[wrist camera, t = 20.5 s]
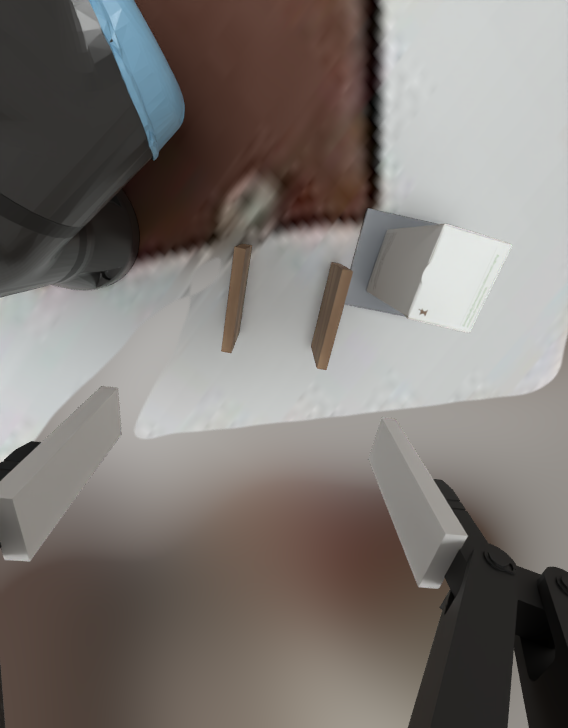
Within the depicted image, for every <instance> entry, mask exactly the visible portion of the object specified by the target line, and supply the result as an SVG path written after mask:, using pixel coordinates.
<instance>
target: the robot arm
mask: <svg viewBox="0 0 568 728" xmlns="http://www.w3.org/2000/svg"><path fill="white" fill-rule="evenodd" d="M184 112H185V105H184V100H183V96H182V93H181V90H180V87H179V85H178V83H177V81H176V78H175V76H174V74H173V72H172V70H171V68H170V66H169V64H168V62H167V60H166V59H165V57H164V55H163V53H162V51H161V49H160V47H159V45H158V43H157V41H156V40H155V38H154V36H153V34H152V32H151V30H150V28H149V27H148V25H147V23H146V21H145V19H144V18H143V16H142V14H141V12H140V10H139V9H138V7H137V5H136V3H135V1H134V0H0V297H4V296H8V295H12V294H16V293H20V292H24V291H28V290H32V289H36V288H40V287H44V286H48V285H54V286H58V287H63V288H67V289H72V290H94V289H98V288H102V287H105V286H108V285H111V284H113V283H115V282H117V281H118V280H120V279H121V278H122V277H124V276H125V275H126V274H127V273H128V271H129V270H130V269H131V267H132V265H133V264H134V262H135V259H136V257H137V253H138V248H139V228H138V223H137V219H136V215H135V212H134V210H133V207H132V205H131V203H130V201H129V199H128V198H127V196H126V195H125V193H124V192H123V190H122V188H123V187H124V186H125V185H126V184H127V183H128V182H129V181H130V180H131V179H132V178H133V177H134V176H135V175H136V174H137V173H138V172H139V171H140V170H141V169H142V168H143V167H144V165H145V164H146V163H147V162H148V161H149V160H150V159H152V160H153V161H154V160H156V159H157V157H158V155H159V150H160V149H161V148H162V147H163V146H164V145H165V144H166V143H167V141H168V140H169V139H170V138H171V137H172V136H173V135H174V134H175V132H176V131H177V130H178V129H179V128H180V126H181V124H182V122H183V119H184ZM118 395H119V394H118V388H113V387H105V386H101V387H100V388H99V389H98V390H97V391H96V392H95V393H94V394H93V395H91V396H90V397H89V398H88V399H87V400H86V401H85V402H84V403H83V404H82V405H81V406H80V407H79V408H78V409H77V410H76V411H74V412H73V413H72V414H71V415H70V416H69V417H68V418H67V419H66V420H65V421H64V422H63V423H62V424H61V425H60V426H59V427H57V428H56V429H55V430H54V431H53V432H52V433H51V434H50V435H49V436H48V437H47V438H46V439H45V440H44V441H43V442H33V441H31V442H29V443H27V444H25V445H23V446H22V447H20V448H18V449H16V450H15V451H13V452H12V453H11V454H10V455H9V456H8V457H7V458H5V459H4V462H1V463H0V548H1V550H2V553H3V556H4V559H5V560H16V561H31V559H32V558H33V556H34V555H35V554H36V552H37V551H38V549H39V548H40V547H41V545H42V544H43V542H44V541H45V540H46V538H47V537H48V536H49V534H50V533H51V531H52V530H53V529H54V527H55V526H56V525H57V523H58V522H59V520H60V519H61V518H62V516H63V515H64V514H65V512H66V511H67V509H68V508H69V507H70V505H71V504H72V502H73V501H74V500H75V498H76V497H77V496H78V494H79V493H80V492H81V490H82V489H83V487H84V486H85V485H86V483H87V482H88V480H89V479H90V478H91V476H92V475H93V474H94V472H95V471H96V469H97V468H98V467H99V465H100V464H101V462H102V461H103V460H104V458H105V457H106V456H107V454H108V453H109V451H110V450H111V449H112V447H113V446H114V445H115V443H116V442H117V440H118V439H119V437H120V436H121V435H122V432H121V420H120V407H119V396H118ZM368 460H369V462H370V465H371V468H372V470H373V473H374V475H375V478H376V480H377V483H378V486H379V488H380V491H381V493H382V496H383V498H384V501H385V503H386V506H387V508H388V511H389V513H390V516H391V519H392V521H393V523H394V526H395V529H396V531H397V534H398V536H399V539H400V542H401V544H402V547H403V549H404V551H405V554H406V557H407V559H408V562H409V564H410V567H411V569H412V572H413V575H414V577H415V580H416V582H417V585H418V587H425V588H439V587H440V585H441V584H442V582H443V580H444V578H445V579H446V581H447V583H448V585H449V587H450V591H449V592H448V594H447V596H446V597H445V599H444V601H443V603H442V604H441V606H440V608H441V609H442V614H441V617H440V621H439V624H438V627H437V631H436V634H435V637H434V641H433V644H432V648H431V651H430V655H429V658H428V661H427V665H426V668H425V671H424V675H423V678H422V682H421V685H420V689H419V692H418V696H417V699H416V702H415V705H414V709H413V712H412V715H411V719H410V722H409V726H408V728H507V727H508V714H509V701H510V689H511V676H512V664H513V651H515V656H516V661H517V667H518V672H519V677H520V683H521V687H522V693H523V699H524V704H525V709H526V714H527V720H528V725H529V728H568V572H566V571H565V570H563V569H560V568H557V567H547V568H546V569H545V571H544V572H543V573H542V575H541V574H538V573H535V572H532V571H530V570H527V569H524V568H521V567H519V566H516V564H515V562H514V561H513V560H512V559H511V558H510V557H509V556H508V555H507V553H505V552H504V551H502V550H501V549H500V548H498V547H496V546H494V545H491V544H488V542H487V541H486V539H485V538H484V536H483V535H482V533H481V532H480V530H479V529H478V527H477V526H476V524H475V523H474V521H473V520H472V518H471V516H470V515H469V514H468V512H467V511H465V508H464V506H463V504H462V503H461V502H460V500H459V498H458V497H457V495H456V494H455V492H454V491H453V489H451V488H450V487H449V486H448V485H447V484H446V483H445V482H444V481H442V480H437V479H433V478H432V477H431V475H430V473H429V472H428V470H427V469H426V467H425V465H424V464H423V462H422V460H421V459H420V457H419V456H418V454H417V452H416V451H415V449H414V447H413V446H412V444H411V442H410V441H409V439H408V438H407V436H406V434H405V433H404V431H403V430H402V428H401V426H400V425H399V423H398V421H397V420H396V419H392V418H383V417H382V418H381V421H380V424H379V427H378V430H377V433H376V437H375V440H374V443H373V446H372V449H371V452H370V455H369V459H368ZM0 728H5V718H4V706H3V694H2V680H1V667H0Z"/></svg>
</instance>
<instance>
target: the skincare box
mask: <svg viewBox="0 0 568 728" xmlns="http://www.w3.org/2000/svg"><path fill="white" fill-rule="evenodd" d="M511 247H512V244H509V243H507V242H504V241H501V240H498V239H495V238H492V237H489V236H485V235H482V234H479V233H476V232H473V231H469V230H466V229H463V228H459V227H456V226H453V225H449V224H438V225H429V226H419V227H410V228H399V229H391V230H387V232H386V235H385V237H384V240H383V243H382V246H381V249H380V252H379V255H378V257H377V260H376V263H375V266H374V269H373V272H372V275H371V278H370V281H369V284H368V287H367V292H368V293H370V294H371V295H373V296H375V297H377V298H378V299H380V300H381V301H383V302H384V303H386V304H388V305H389V306H391V307H392V308H394V309H396V310H397V311H399V312H400V313H402V314H403V315H404V316H406V317H407V319H411V320H415V321H419V322H423V323H427V324H432V325H436V326H440V327H445V328H449V329H453V330H457V331H462V332H466V333H470V331H471V329H472V327H473V325H474V323H475V321H476V319H477V317H478V315H479V313H480V311H481V308H482V306H483V304H484V302H485V300H486V298H487V296H488V294H489V292H490V290H491V288H492V286H493V284H494V282H495V280H496V278H497V276H498V274H499V272H500V270H501V268H502V266H503V264H504V262H505V260H506V258H507V256H508V254H509V252H510V250H511Z"/></svg>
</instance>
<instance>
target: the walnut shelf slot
mask: <svg viewBox="0 0 568 728" xmlns="http://www.w3.org/2000/svg"><path fill="white" fill-rule="evenodd" d="M251 250H252V245H247V244H241V245H238V246H235V247H234V255H233V263H232V271H231V279H230V286H229V294H228V302H227V310H226V318H225V326H224V334H223V342H222V350H221V351H222V352H227V353H231V352H232V350H233V347H234V345H235V342H236V340H237V337H238V335H239V331H240V324H241V318H242V311H243V304H244V297H245V290H246V284H247V277H248V270H249V263H250V257H251ZM352 274H353V271H352V270H350V269H348V268H347V267H345V266H343V265H341V264H338V263H333V262H332V263H331V267H330V271H329V275H328V279H327V283H326V287H325V291H324V295H323V299H322V303H321V308H320V312H319V316H318V320H317V324H316V328H315V332H314V336H313V340H312V344H311V348H312V352H313V356H314V359H315V363H316V367H317V368H318V369H323V370H326V369H327V366H328V362H329V358H330V355H331V351H332V347H333V344H334V340H335V336H336V333H337V329H338V326H339V322H340V318H341V315H342V311H343V307H344V304H345V300H346V296H347V293H348V289H349V285H350V282H351V278H352Z"/></svg>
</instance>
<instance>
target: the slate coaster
mask: <svg viewBox="0 0 568 728" xmlns="http://www.w3.org/2000/svg"><path fill="white" fill-rule="evenodd" d="M429 225H438V224H436V223H431V222H427V221H422V220H418V219H413V218H409V217H405V216H400V215H396V214H391V213H387V212H382V211H378V210H374V209H369V208H367V210H366V214H365V217H364V221H363V225H362V228H361V232H360V236H359V240H358V243H357V247H356V251H355V254H354V258H353V262H352V266H351V269H350V270H352V271H353V274H352V278H351V282H350V285H349V289H348V293H347V296H346V300H345V305H350V306H355V307H360V308H365V309H370V310H375V311H380V312H385V313H390V314H395V315H401V316H404V315H403V314H402V313H400V312H399V311H397V310H396V309H394V308H392V307H391V306H389V305H388V304H386V303H384V302H383V301H381V300H380V299H378V298H377V297H375V296H373V295H371V294H370V293H368V292H367V287H368V284H369V281H370V278H371V275H372V272H373V269H374V266H375V263H376V260H377V257H378V255H379V252H380V249H381V246H382V243H383V240H384V237H385V235H386V232H387V230H391V229H399V228H410V227H419V226H429Z"/></svg>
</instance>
